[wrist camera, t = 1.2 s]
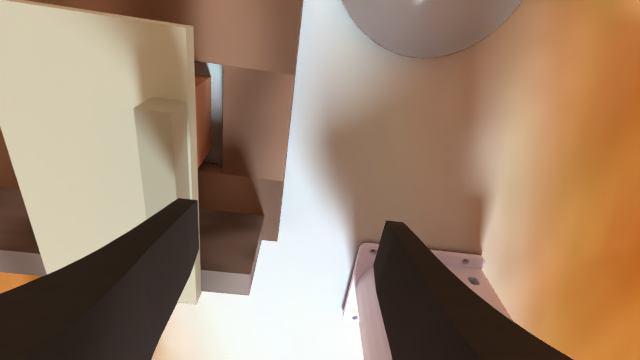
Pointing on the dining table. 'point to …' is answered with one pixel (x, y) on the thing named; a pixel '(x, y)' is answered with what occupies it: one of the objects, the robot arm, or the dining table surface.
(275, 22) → the puzzle board
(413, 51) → the saucer
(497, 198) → the dining table surface
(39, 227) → the sliding lid
